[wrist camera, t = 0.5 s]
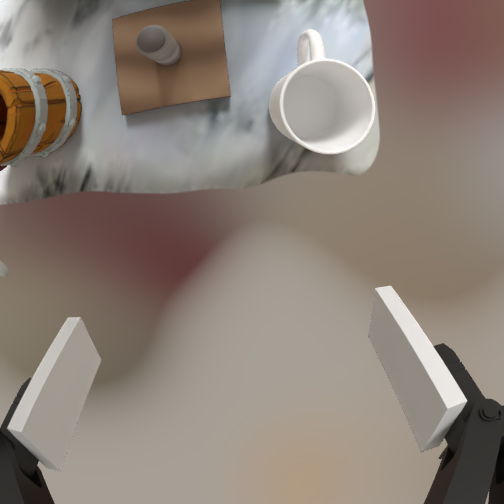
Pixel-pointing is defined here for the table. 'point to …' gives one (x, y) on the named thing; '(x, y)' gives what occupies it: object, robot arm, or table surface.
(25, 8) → the table surface
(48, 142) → the mug
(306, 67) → the cup
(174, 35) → the post block
